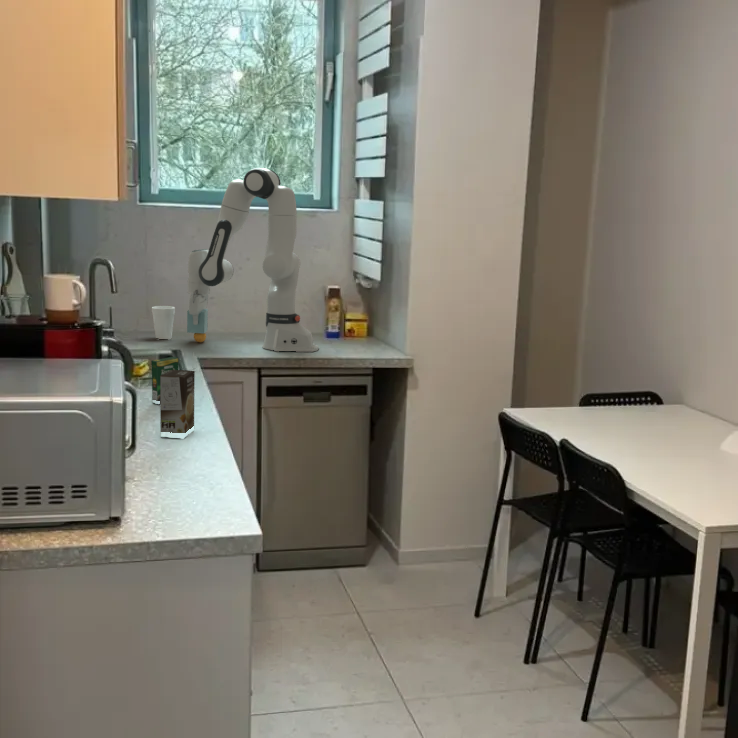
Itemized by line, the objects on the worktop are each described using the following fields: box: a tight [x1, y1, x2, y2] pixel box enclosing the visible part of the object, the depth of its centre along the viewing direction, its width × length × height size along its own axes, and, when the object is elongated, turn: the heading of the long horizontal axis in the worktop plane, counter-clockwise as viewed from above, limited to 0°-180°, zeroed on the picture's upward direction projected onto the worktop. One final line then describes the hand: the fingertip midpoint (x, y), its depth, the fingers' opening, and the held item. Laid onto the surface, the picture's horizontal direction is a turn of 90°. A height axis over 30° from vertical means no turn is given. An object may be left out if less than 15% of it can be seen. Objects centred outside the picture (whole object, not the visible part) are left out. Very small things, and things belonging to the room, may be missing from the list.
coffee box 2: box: [150, 356, 179, 401], centre depth 262 cm, size 8×3×13 cm, turn 139°
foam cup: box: [151, 305, 176, 340], centre depth 373 cm, size 10×9×13 cm
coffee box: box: [159, 369, 196, 433], centre depth 228 cm, size 9×6×16 cm
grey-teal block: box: [186, 308, 209, 334], centre depth 367 cm, size 7×7×9 cm
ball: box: [193, 332, 207, 343], centre depth 368 cm, size 5×5×5 cm
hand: (197, 322), depth 367 cm, fingers closed on grey-teal block, 7 cm apart
